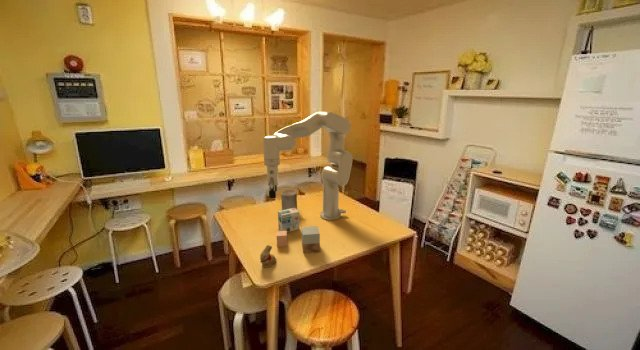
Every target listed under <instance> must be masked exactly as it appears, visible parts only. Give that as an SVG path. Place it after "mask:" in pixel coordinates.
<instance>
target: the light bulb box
mask: <svg viewBox="0 0 640 350" xmlns="http://www.w3.org/2000/svg"><path fill="white" fill-rule="evenodd" d="M277 220H278V221H277V222H278V229H279V231H287V233H288V232H290V233H291V232H294V231H297V230H300V211H299V210H298V208H297V209H296V208H291V209H286V210H282V209H281V210H278V211H277Z"/></svg>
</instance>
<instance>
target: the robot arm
mask: <svg viewBox="0 0 640 350" xmlns="http://www.w3.org/2000/svg"><path fill="white" fill-rule="evenodd" d="M351 125H352V124H351V122H350V120H349V119H348V118H345V117H343V116H341V115H339V114H337V113H334V112H332V111H324V110H318V111H316V112H315V113H312V114H311V115H309V116H308V117H306V118H305V119H303V120H301V121H299V122H295V123H293V124H290V125H288V126H285V127H282V128H281V129H279V130H277V131H276V132H274V134H272V135H267V136H264V137H263V139H262V141H263V143H262V145H263V163H264V166H265V167H266V177H267V186H268V199H277V198H276V197H277V191H278V189H277V188H278V185H279V183H280V182H279V166H280V165H281V163H280V162H281V159H280V156H281V154H280V151H291V150H293V149H294V148H295V147H296V139H298V138H306V137H310V136H311V135H313V134H314V133H315V132H317V131H319V130H320V129H321V128H324V129H325V130H326V132H327V133H328V136H329V144H328V150H327V151H328V152H327V155H326V159H327V162H328V163H329V164H331V165H327V166H324V168H323V169H321V175H320V176H321V180H322V211H321V212H320V214H319V215H320V218H321V219H323V220H327V221H335V220H338V219H340V218H341V215H342V214H347V210H345V209H344V208H341V209H340V208H339V200H340V199H339V197H340V196H339V194H340V189H339V186H340V187H344V186H346V185H347V184H348V182H349V180H350V175H351V171H352V167H353V166H352V165H353V161H354V160H353V155H352V153H351V152H350V151H348V150H345V149H344V147H345V136H344V135H347V134H348V133H349V132H350V131H351V127H352V126H351ZM332 165H335V166H332ZM336 166H338V167H336Z"/></svg>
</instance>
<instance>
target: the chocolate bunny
mask: <svg viewBox="0 0 640 350" xmlns="http://www.w3.org/2000/svg"><path fill="white" fill-rule="evenodd" d="M272 249H273V247H272V245H269V244H267V245H266V246H265V248H264V249H263V250H262V251H261V253H260V255H259V256H260V257H259V259H260V263H261V267H262V268H263V269H266V268H267V269H268V268H271V267H272V266H274V265H275V264H276V263H277V258H276V256H275V254H271V250H272Z"/></svg>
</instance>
